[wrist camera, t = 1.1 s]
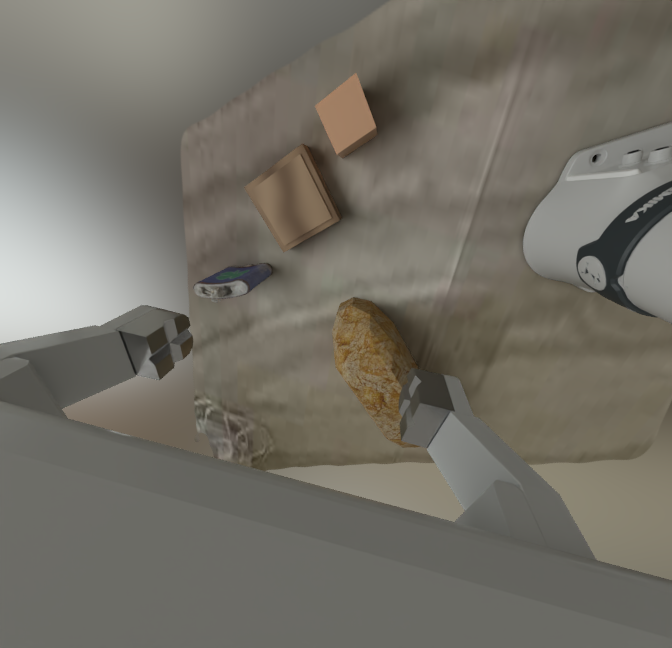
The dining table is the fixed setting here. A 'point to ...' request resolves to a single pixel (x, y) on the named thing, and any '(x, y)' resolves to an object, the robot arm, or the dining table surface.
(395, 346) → the bread
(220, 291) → the flask
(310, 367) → the dining table surface
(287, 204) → the walnut plinth
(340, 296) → the dining table surface
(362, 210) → the dining table surface
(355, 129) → the terracotta block
